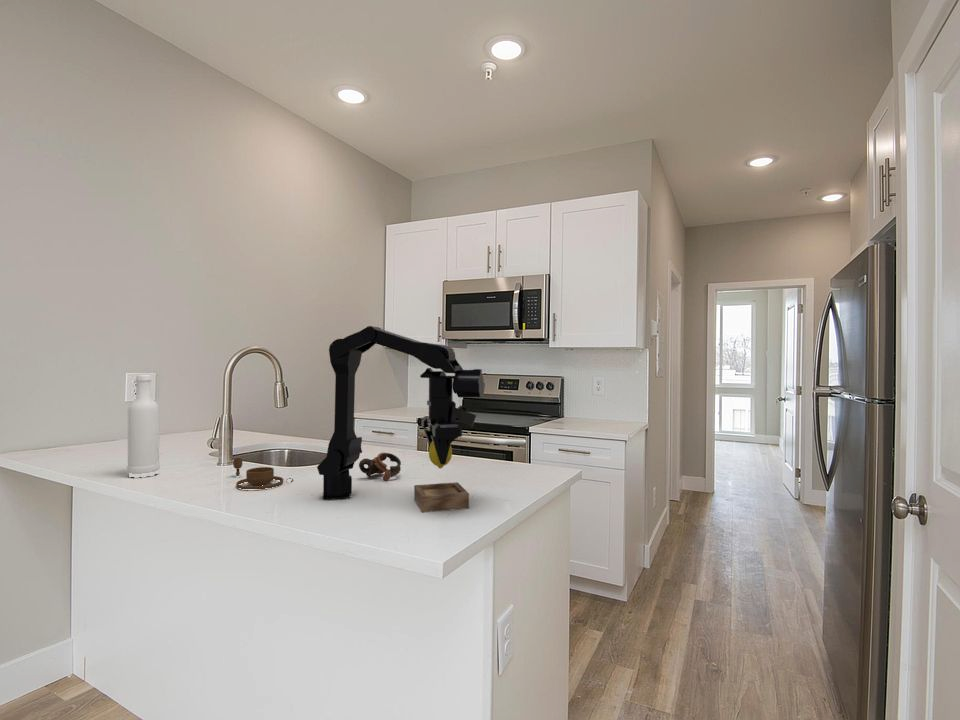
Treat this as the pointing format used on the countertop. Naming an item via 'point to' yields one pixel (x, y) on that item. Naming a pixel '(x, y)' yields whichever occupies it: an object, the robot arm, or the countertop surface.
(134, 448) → the bottle
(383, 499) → the countertop surface
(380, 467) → the brown twisted loop
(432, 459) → the lemon
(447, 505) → the walnut base
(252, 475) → the place setting
